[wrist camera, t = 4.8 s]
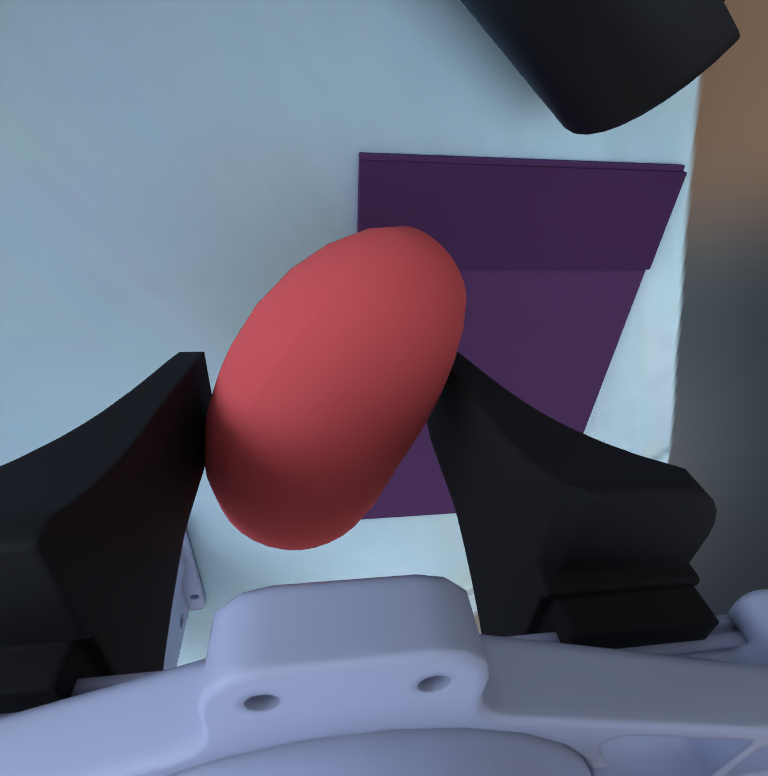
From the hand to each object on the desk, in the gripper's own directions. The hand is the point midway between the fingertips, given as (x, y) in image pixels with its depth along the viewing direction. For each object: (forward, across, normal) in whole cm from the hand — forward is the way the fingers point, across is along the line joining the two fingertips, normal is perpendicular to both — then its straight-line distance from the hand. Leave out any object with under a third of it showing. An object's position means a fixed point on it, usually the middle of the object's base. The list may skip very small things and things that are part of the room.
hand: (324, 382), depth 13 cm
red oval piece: (+1, 0, 0) cm, 1 cm away
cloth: (+8, -8, +6) cm, 13 cm away
